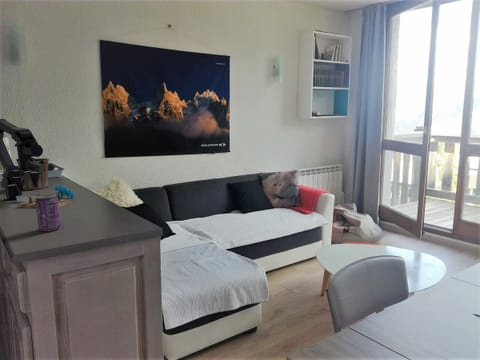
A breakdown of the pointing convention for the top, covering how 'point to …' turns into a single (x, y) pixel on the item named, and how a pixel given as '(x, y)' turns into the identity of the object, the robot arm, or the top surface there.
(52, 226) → the beverage can
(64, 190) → the gear
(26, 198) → the ball knob lever
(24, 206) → the peg rack
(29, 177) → the plant pot
